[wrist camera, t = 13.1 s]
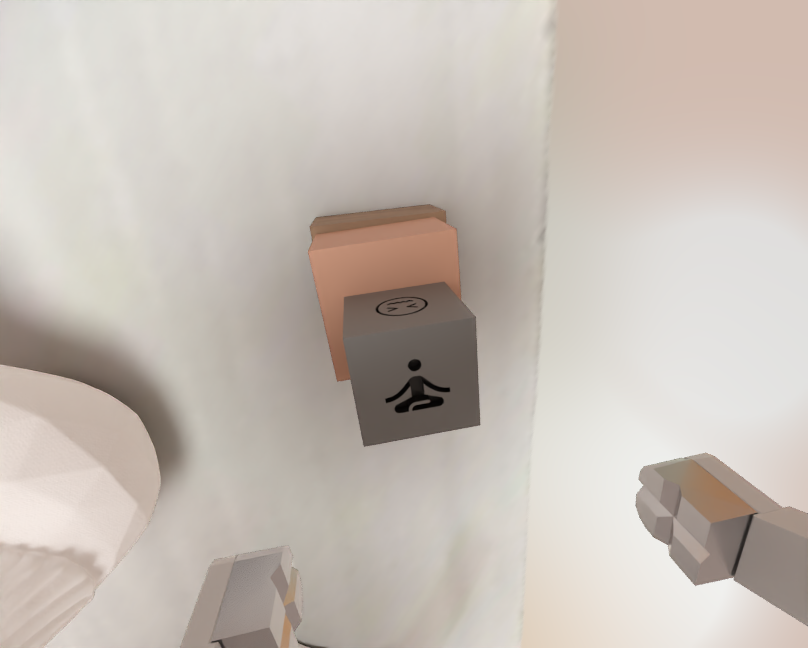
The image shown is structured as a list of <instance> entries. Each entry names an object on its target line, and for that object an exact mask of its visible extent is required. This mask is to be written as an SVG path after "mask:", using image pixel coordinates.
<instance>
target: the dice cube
mask: <svg viewBox="0 0 808 648" xmlns="http://www.w3.org/2000/svg"><path fill="white" fill-rule="evenodd" d="M343 343H344V348H345V353H346V358H347V363H348V368H349V373H350V379H351V384H352V389H353V394H354V399H355V404H356V409H357V414H358V419H359V424H360V429H361V435H362V440H363V445H364V447H365V446H370V445H376V444H381V443H387V442H392V441H397V440H403V439H408V438H414V437H419V436H424V435H430V434H435V433H441V432H446V431H451V430H457V429H462V428H468V427H473V426H478V425H480V408H479V385H478V362H477V339H476V317H475V316H474V315H473V314H472V313H471V311H470V310H469V309H468V308H467V307H466V306H465V305H464V303H463V302H462V301H461V300H460V299H459V298H458V297H457V295H456V294H455V293H454V292H453V291H452V290H451V289H450V287H449V286H448V285H447V284H446V283H445V282H438V283H432V284H425V285H419V286H412V287H405V288H399V289H392V290H386V291H379V292H373V293H366V294H359V295H353V296H346V297H344V312H343Z"/></svg>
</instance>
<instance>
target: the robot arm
mask: <svg viewBox="0 0 808 648" xmlns="http://www.w3.org/2000/svg"><path fill="white" fill-rule="evenodd" d="M639 481H640V482H641V483H642V484H643V487H642V488H641V489H640V491H639V492H638V493H637V494H636V508H637V511H638V514H639V517H640V519H641V521H642V522H643V524H644V526H645V527H646V529H647V530H648V531H649V532H650V533H651V535H652V536H653V537H654V538H656V539H658V540H660V541H661V542H663V543H665V544H667V545H668V549H669V556H670V557H671V558H672V559H673V560H674V561H675V563H676V564H677V565H678V566H679V568H680V569H681V570H682V571H683V572H684V573H685V574H686V575H687V577H688V578H689V579H690V580H691V581H692V582H693V584H694V585H695V586H696V585H700V584H705V583H709V582H714V581H719V580H723V579H728V578H733V577H734V581H736V582H738V583H740V584H741V585H742V586H744V587H746V588H747V589H749V590H750V591H752V592H754V593H755V594H757V595H758V596H760V597H762V598H763V599H765V600H766V601H768V602H770V603H771V604H773V605H775V606H776V607H778V608H779V609H781V610H782V611H784V612H786V613H787V614H789V615H791V616H792V617H794V618H796V619H797V620H798V621H800V622H802V623H803V624H805V625H807V626H808V513H805V512H803V511H800V510H797V509H795V508H792V507H785V508H782V507H781V506H780V505H778V504H777V503H776V502H774V501H773V500H772V499H771V498H769V497H768V496H767V495H765V494H764V493H763V492H761V491H760V490H758V489H757V488H756V487H754V486H753V485H752V484H751V483H749V482H748V481H746V480H745V479H744V478H743V477H741V476H740V475H739V474H737V473H736V472H735V471H733V470H732V469H731V468H729V467H728V466H727V465H725V464H724V463H723V462H721V461H720V460H719V459H717V458H716V457H715V456H713V455H710V454H708V453H703V454H698V455H694V456H689V457H685V458H679V459H674V460H670V461H666V462H661V463H657V464H653V465H648V466H644V467H643V468H642V469H641V471H640V474H639ZM292 559H293V555H292V552H291V550H290V547H289V546H281V547H276V548H271V549H266V550H260V551H255V552H250V553H245V554H239V555H235V556H230V557H225V558H220V559H216V560H214V561H213V563H212V564H211V565H210V567H209V568H208V571H207V573H206V576H205V579H204V582H203V585H202V588H201V590H200V593H199V596H198V599H197V602H196V604H195V607H194V610H193V613H192V616H191V619H190V621H189V624H188V627H187V630H186V633H185V636H184V638H183V641H182V644H181V647H180V648H309V647H306V646H304V645H301V644H299V643H298V641H297V639H296V636H295V633H294V631H295V630H296V628H297V627H298V625H299V624H300V622H301V620H302V608H303V595H302V584H301V578H300V575H299V572H298V570H297V569H295V568H293V567H292Z"/></svg>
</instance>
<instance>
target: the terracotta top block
mask: <svg viewBox="0 0 808 648" xmlns="http://www.w3.org/2000/svg"><path fill="white" fill-rule="evenodd" d="M308 254H309V259H310V263H311V268H312V272H313V276H314V281H315V285H316V290H317V294H318V299H319V303H320V307H321V312H322V316H323V321H324V325H325V330H326V334H327V338H328V343H329V347H330V352H331V356H332V361H333V365H334V369H335V374H336V378H337V382H338V381H344V380H349V379H350V373H349V368H348V363H347V358H346V353H345V348H344V343H343V312H344V297H346V296H353V295H359V294H366V293H373V292H379V291H386V290H392V289H399V288H405V287H412V286H419V285H425V284H432V283H438V282H445V283H446V284H447V285H448V286H449V287H450V289H451V290H452V291H453V292H454V293H455V294H456V295H457V297H458V298H459V299H460V300H461V289H460V274H459V259H458V244H457V229H456V228H454V227H452V226H450V225H448V224H446V223H444V222H443V221H441V220H439V219H437V218H435V217H430V218H423V219H416V220H409V221H403V222H396V223H389V224H382V225H376V226H369V227H362V228H355V229H348V230H342V231H335V232H328V233H321V234H316V235H315V238H314V240H313V242H312V244H311V246H310V248H309V250H308Z"/></svg>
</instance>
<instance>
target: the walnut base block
mask: <svg viewBox="0 0 808 648" xmlns="http://www.w3.org/2000/svg"><path fill="white" fill-rule="evenodd" d="M430 217H435V218H437V219H439V220H441V221H443V222H444V223H446V211H444V210H442V209H439V208H437V207H434V206H432V205H421V206H412V207H403V208H394V209H386V210H377V211H368V212H359V213H351V214H342V215H333V216H324V217H316V218H315V220H314V221H313V223H312V224H311V226H310V231H311V236H312V242H313V240H314V238H315V235H316V234H321V233H328V232H335V231H342V230H348V229H355V228H362V227H369V226H376V225H382V224H389V223H396V222H403V221H409V220H416V219H423V218H430Z"/></svg>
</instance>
